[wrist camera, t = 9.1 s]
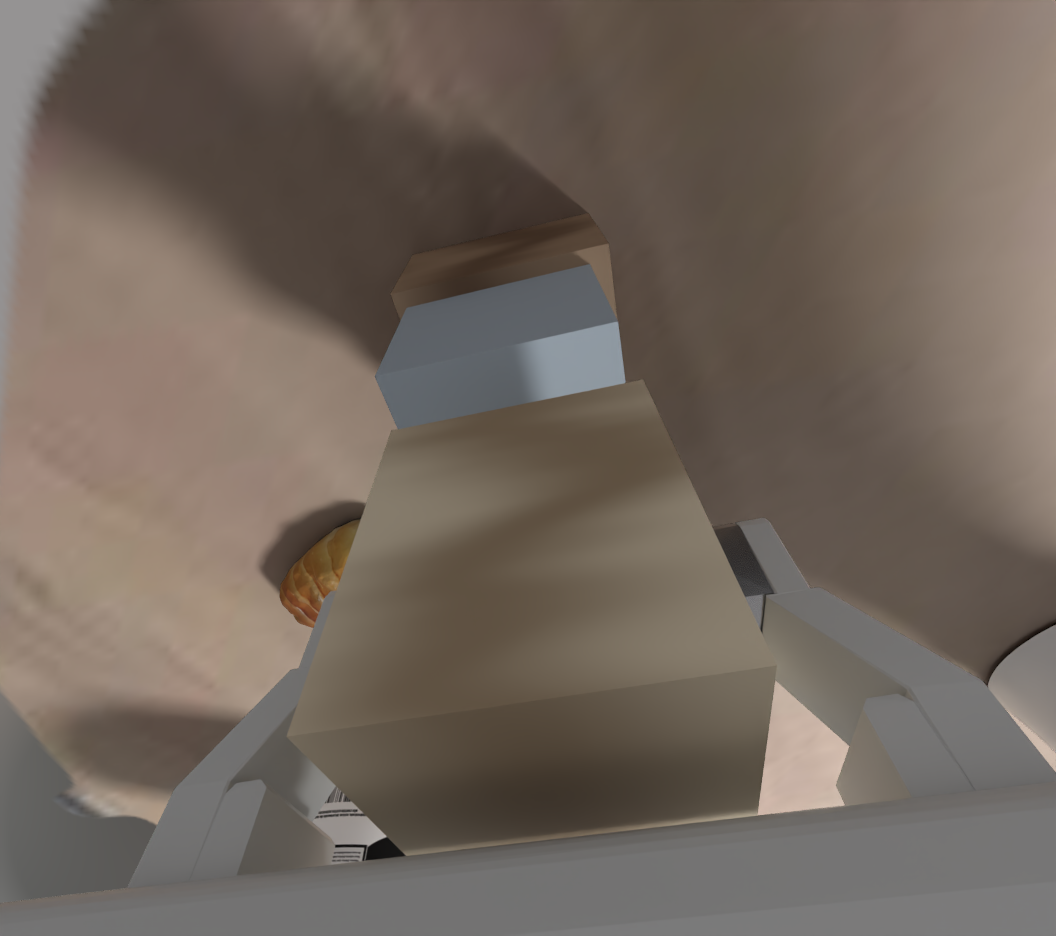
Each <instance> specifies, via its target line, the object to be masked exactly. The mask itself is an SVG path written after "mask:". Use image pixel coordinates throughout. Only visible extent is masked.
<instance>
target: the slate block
mask: <svg viewBox="0 0 1056 936" xmlns="http://www.w3.org/2000/svg"><path fill="white" fill-rule="evenodd" d="M375 378H376V381H377V383H378V385H379V387H380V390H381V392H382V394H383V396H384V399H385V401H386V403H387V405H388V408H389V410H390V412H391V415H392V417H393V419H394V421H395V424H396V426H397V428H398V429H402V428H407V427H412V426H417V425H422V424H427V423H432V422H437V421H442V420H446V419H451V418H456V417H461V416H466V415H471V414H476V413H481V412H486V411H491V410H496V409H501V408H505V407H510V406H515V405H520V404H525V403H530V402H535V401H540V400H545V399H550V398H555V397H560V396H564V395H569V394H574V393H579V392H584V391H589V390H594V389H599V388H604V387H609V386H614V385H619V384H623V383H626V382H625V374H624V366H623V358H622V350H621V342H620V334H619V325H618V320H617V318H616V316H615V314H614V312H613V310H612V308H611V306H610V304H609V302H608V300H607V298H606V296H605V294H604V292H603V290H602V288H601V286H600V284H599V282H598V279H597V277H596V275H595V273H594V271H593V269H592V267H591V265H590V264H587V265H583V266H579V267H575V268H571V269H567V270H562V271H558V272H554V273H550V274H546V275H542V276H537V277H533V278H529V279H525V280H521V281H516V282H512V283H508V284H504V285H500V286H496V287H491V288H487V289H483V290H479V291H475V292H471V293H466V294H462V295H458V296H454V297H450V298H446V299H441V300H437V301H433V302H429V303H425V304H420V305H416V306H412V307H408V308H406V310H405V312H404V315H403V317H402V319H401V321H400V323H399V325H398V328H397V330H396V332H395V334H394V336H393V338H392V340H391V343H390V345H389V347H388V349H387V351H386V353H385V356H384V358H383V360H382V362H381V364H380V366H379V369H378V371H377V373H376V375H375Z"/></svg>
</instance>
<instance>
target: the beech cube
mask: <svg viewBox="0 0 1056 936" xmlns="http://www.w3.org/2000/svg"><path fill="white" fill-rule="evenodd" d="M776 670H777V664H776V662H775V660H774V658H773V656H772V654H771V652H770V649H769V647H768V645H767V643H766V641H765V639H764V637H763V634H762V632H761V630H760V628H759V626H758V624H757V622H756V620H755V617H754V615H753V613H752V611H751V609H750V607H749V605H748V602H747V600H746V598H745V596H744V594H743V592H742V590H741V587H740V585H739V583H738V581H737V579H736V577H735V575H734V573H733V570H732V568H731V566H730V564H729V562H728V560H727V558H726V555H725V553H724V551H723V549H722V547H721V545H720V543H719V540H718V538H717V536H716V534H715V532H714V530H713V528H712V526H711V523H710V521H709V519H708V517H707V515H706V513H705V511H704V508H703V506H702V504H701V502H700V500H699V498H698V496H697V494H696V491H695V489H694V487H693V485H692V483H691V481H690V479H689V476H688V474H687V472H686V470H685V468H684V466H683V464H682V461H681V459H680V457H679V455H678V453H677V451H676V449H675V447H674V444H673V442H672V440H671V438H670V436H669V434H668V432H667V429H666V427H665V425H664V423H663V421H662V419H661V417H660V414H659V412H658V410H657V408H656V406H655V404H654V402H653V400H652V397H651V395H650V393H649V391H648V389H647V387H646V385H645V382H644V380H638V381H633V382H628V383H623V384H619V385H614V386H609V387H604V388H599V389H594V390H589V391H584V392H579V393H574V394H569V395H564V396H560V397H555V398H550V399H545V400H540V401H535V402H530V403H525V404H520V405H515V406H510V407H505V408H501V409H496V410H491V411H486V412H481V413H476V414H471V415H466V416H461V417H456V418H451V419H446V420H442V421H437V422H432V423H427V424H422V425H417V426H412V427H407V428H402V429H397V430H392V431H391V433H390V436H389V439H388V442H387V445H386V448H385V451H384V453H383V456H382V459H381V462H380V465H379V468H378V471H377V474H376V477H375V480H374V483H373V486H372V488H371V491H370V494H369V497H368V500H367V503H366V506H365V509H364V512H363V515H362V518H361V521H360V523H359V526H358V529H357V532H356V535H355V538H354V541H353V544H352V547H351V550H350V553H349V556H348V558H347V561H346V564H345V567H344V570H343V573H342V576H341V579H340V582H339V585H338V588H337V591H336V593H335V596H334V599H333V602H332V605H331V608H330V611H329V614H328V617H327V620H326V623H325V626H324V628H323V631H322V634H321V637H320V640H319V643H318V646H317V649H316V652H315V655H314V658H313V661H312V663H311V666H310V669H309V672H308V675H307V678H306V681H305V684H304V687H303V690H302V693H301V696H300V698H299V701H298V704H297V707H296V710H295V713H294V716H293V719H292V722H291V725H290V728H289V730H288V733H287V736H286V737H287V738H288V739H289V740H290V741H291V742H292V743H293V744H294V745H295V746H296V747H297V748H298V749H299V750H300V751H301V752H302V753H303V754H304V755H305V756H306V757H307V758H308V759H309V760H310V761H311V762H312V763H313V764H314V765H315V766H316V767H317V768H318V769H319V770H320V771H321V772H322V773H323V774H324V775H325V776H326V777H327V778H328V779H329V780H330V781H331V782H332V783H333V784H334V785H335V786H336V787H337V788H338V789H339V790H340V791H341V792H343V793H344V794H345V795H346V796H347V797H348V798H349V799H350V800H351V801H352V802H353V803H354V804H355V805H356V806H357V807H358V808H359V809H360V810H361V811H362V812H363V813H364V814H365V815H366V816H367V817H368V818H369V819H370V820H371V821H372V822H373V823H374V824H375V825H376V826H377V827H378V828H379V829H380V830H381V831H382V832H383V833H384V834H385V835H386V836H387V837H388V838H389V839H390V840H391V841H392V842H393V843H394V844H395V845H396V846H397V847H398V848H399V849H400V850H401V851H402V852H403V853H404V854H405V855H406V856H411V855H419V854H428V853H437V852H445V851H454V850H463V849H471V848H480V847H489V846H498V845H506V844H515V843H524V842H532V841H541V840H550V839H558V838H567V837H576V836H584V835H593V834H602V833H611V832H619V831H628V830H637V829H645V828H654V827H663V826H671V825H680V824H689V823H697V822H706V821H715V820H724V819H732V818H741V817H750V816H757V814H758V806H759V798H760V791H761V783H762V776H763V768H764V761H765V753H766V746H767V738H768V730H769V723H770V715H771V708H772V700H773V693H774V685H775V677H776Z"/></svg>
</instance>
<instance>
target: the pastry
mask: <svg viewBox="0 0 1056 936" xmlns="http://www.w3.org/2000/svg"><path fill="white" fill-rule="evenodd" d="M360 521H361V519H358V520H353V521H351V522H349V523H347V524H345V525H343V526H341V527H338V528H337V527H336V528H335V529H334V530H333V531H332V532H331V533H330V534H328V535H326V536H325V537H324V538H323V539H321V540H320V541H318V542H317V543H316V544H315V545H314V546H313V547H312V548H311V549H310V550H308V551H307V553H306V554H305V555H304V556H303V557H302V558H300V559H299V560H298V561H297V562H296V563H295V564H294V565H293V566H292V567H291V569H290V570H289V572H288V574H287V576H286V578H285V579H284V580H283V582H282V583H281V587H280V600H281V602H282V604H283V606H284V607H285V608H286V609H287V610H288V611H289V612H290V613H291V614H293V615H294V617H295V619H296V620H297V622H298V623H300V624H303V625H306V626H309V627H312V628H314V625H315V622H316V619H317V617H318V614H319V611H320V609H321V606H322V603H323V600H324V598H325V597H326V596H327V595H328V594H329V593H330V592H331V591H336V590H337V588H338V585H339V582H340V579H341V576H342V573H343V570H344V567H345V564H346V561H347V558H348V556H349V553H350V550H351V547H352V544H353V541H354V538H355V535H356V532H357V529H358V526H359V523H360Z"/></svg>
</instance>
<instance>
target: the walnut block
mask: <svg viewBox="0 0 1056 936" xmlns="http://www.w3.org/2000/svg"><path fill="white" fill-rule="evenodd" d="M587 264H590V265H591V267H592V269H593V271H594V273H595V275H596V277H597V279H598V282H599V284H600V286H601V288H602V290H603V292H604V294H605V296H606V298H607V300H608V302H609V304H610V306H611V308H612V310H613V312H614V314H615V316H616V318H617V312H616V303H615V294H614V286H613V277H612V268H611V259H610V250H609V243H608V242H607V240H606V239H605V237H604V236H603V234H602V233H601V231H600V230H599V228H598V227H597V225H596V224H595V222H594V221H593V219H592V218H591V216H590V215H589V213H586V214H582V215H577V216H573V217H569V218H565V219H561V220H556V221H552V222H548V223H544V224H540V225H535V226H531V227H527V228H523V229H519V230H514V231H510V232H506V233H502V234H498V235H494V236H489V237H485V238H481V239H477V240H473V241H468V242H464V243H460V244H456V245H452V246H447V247H443V248H439V249H435V250H431V251H426V252H422V253H418V254H414V255H412V257H411V259H410V260H409V262H408V264H407V266H406V267H405V269H404V271H403V273H402V274H401V276H400V278H399V280H398V281H397V283H396V285H395V287H394V288H393V290H392V292H391V294H390V295H391V297H392V300H393V303H394V306H395V308H396V311H397V314H398V316H399V319H400V321H401V319H402V317H403V315H404V312H405V310H406V308H408V307H412V306H416V305H420V304H425V303H429V302H433V301H437V300H441V299H446V298H450V297H454V296H458V295H462V294H466V293H471V292H475V291H479V290H483V289H487V288H491V287H496V286H500V285H504V284H508V283H512V282H516V281H521V280H525V279H529V278H533V277H537V276H542V275H546V274H550V273H554V272H558V271H562V270H567V269H571V268H575V267H579V266H583V265H587Z"/></svg>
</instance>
